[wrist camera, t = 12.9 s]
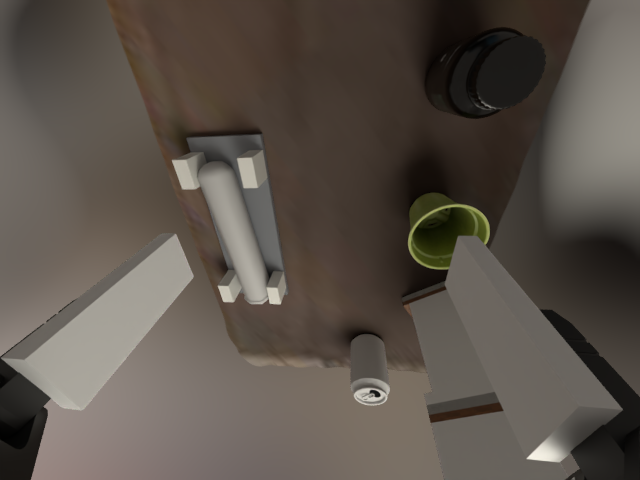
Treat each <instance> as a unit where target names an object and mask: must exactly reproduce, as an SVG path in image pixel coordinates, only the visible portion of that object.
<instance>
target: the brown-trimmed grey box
mask: <svg viewBox="0 0 640 480" xmlns="http://www.w3.org/2000/svg"><path fill="white" fill-rule="evenodd" d="M402 302H403V306H404V307H405V309H406V310H407V311H408V313H409V314H410V316H411V317H412V318H413V320H414V324H415V328H416V332H417V335H418V339H419V343H420V347H421V351H422V354H423V358H424V362H425V366H426V369H427V373H428V377H429V381H430V385H431V388H432V392H431V393H426V394H424V396H425V400H426V405H427V409H428V413H429V418H430V422H431V426H432V430H433V435H434V439H435V443H436V447H437V451H438V456H439V460H440V464H441V469H442V473H443V477H444V480H565V479H566V478H568V475H567V473H566V471H565V469H564V468H563V466H562V464H561V462H550V461H541V460H532V459H526V457H525V455H524V453H523V451H522V449H521V447H520V444H519V442H518V440H517V438H516V436H515V434H514V432H513V430H512V427H511V425H510V423H509V421H508V419H507V417H506V415H505V412H504V410H503V408H502V406H501V404H500V402H499V400H498V398H497V395H496V393H495V391H494V389H493V387H492V385H491V383H490V380H489V378H488V376H487V374H486V372H485V370H484V368H483V365H482V363H481V361H480V359H479V357H478V355H477V353H476V351H475V348H474V346H473V344H472V342H471V340H470V338H469V336H468V333H467V331H466V329H465V327H464V325H463V323H462V321H461V318H460V316H459V314H458V312H457V310H456V308H455V306H454V304H453V301H452V299H451V297H450V295H449V293H448V291H447V289H446V286H445V281H444V282H441V283H438V284H436V285H433V286H431V287H428V288H426V289H423V290H420V291H418V292H415V293H413V294H410V295H407V296H405V297H402Z"/></svg>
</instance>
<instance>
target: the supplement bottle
mask: <svg viewBox="0 0 640 480" xmlns="http://www.w3.org/2000/svg"><path fill="white" fill-rule="evenodd" d="M545 58H546V55H545V54H544V49H543V48H542V44H541V43H539V42H538V40H537V39H533V37H527V36H526V35H523V34H522V33H520V32H519V31H517V30H515V29H512V28H506V27H500V28H494V29H490V30H487V31H484V32H482V33H479V34H477V35H474V36H472V37H470V38H467V39H465V40H462V41H460V42H458V43H455V44H453V45H451V46H450V47H448V48H447V49H445V50H444V51H443V52H442V53H440V54H439V55H438V57H437V58H436V59H435V60H434V62H433V63H432V65H431V67H430V69H429V71H428V74H427V78H426V94H427V97H428V100H429V101H430V103H431V104H432V105H433V106H434V107H435V108H436V109H438V110H440V111H443V112H447V113H450V114H454V115H458V116H461V117H465V118H471V119H479V118H485V117H488V116H491V115H493V114H496V113H497V112H499V111H501V110H502V109H504V108H506V109H507V108H509V107H511V106H515V105H516V104H517V103H520V102H521V101H522V100H523V99H525V98H527V97H528V95H529V94H530V93H531V92H533V90H534V88H535V87H536V86H537V85H538V82H539V80H540V79H541V78H542V73H543V72H544V66H545V64H546V61H545Z"/></svg>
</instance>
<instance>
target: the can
mask: <svg viewBox="0 0 640 480" xmlns="http://www.w3.org/2000/svg"><path fill="white" fill-rule="evenodd" d="M351 390H352V392H353V393H354V398H355V399H356V400H357V401H358V402H360V403H362V404H366V405H379V404H382V403H384V402H385V401H386V400H387V394H388V393H389V390H390V386H389V378H388V370H387V362H386V354H385V346H384V343H383V341H382V340H381V339H380V338H378V337H376V336H374V335H371V334H362V335H359V336H357V337H356V338H354V339H353V340H352V342H351Z"/></svg>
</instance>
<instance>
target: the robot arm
mask: <svg viewBox="0 0 640 480" xmlns="http://www.w3.org/2000/svg"><path fill="white" fill-rule="evenodd" d="M193 277H194V276H193V273H192V271H191V269H190V266H189V264H188V261H187V259H186V257H185V255H184V252H183V250H182V247H181V245H180V242H179V240H178V238H177V235H176V234H160V235H159V236H158V237H156V238H155V239H154V240H153V241H151V242H150V243H149V244H147V245H146V246H145V247H144V248H142V249H141V250H140V251H138V252H137V253H136V254H135V255H133V256H132V257H131V258H129V259H128V260H127V261H125V262H124V263H123V264H122V265H120V266H119V267H118V268H116V269H115V270H114V271H112V272H111V273H110V274H109V275H107V276H106V277H105V278H103V279H102V280H101V281H100V282H98V283H97V284H96V285H94V286H93V287H92V288H90V289H89V290H88V291H87V292H85V293H84V294H83V295H82V296H80V297H79V298H77V299H76V300H74V301H72V302H71V303H70V304H68V305H67V306H66V307H64V308H63V309H62V310H60V311H59V313H58V314H55V315H54V316H53V317H51V318H50V319H49V320H47V322H46V323H45V324H42V325H41V326H40V327H38V328H37V329H36V330H34V331H33V332H32V333H30V334H29V335H28V336H27V337H25V338H24V339H23V340H21V341H20V342H19V343H18V344H16V345H15V346H14V347H12V348H11V349H10V350H8V351H7V352H6V353H4V354H3V355H2V356H1V357H0V480H31V477H32V473H33V469H34V466H35V462H36V458H37V454H38V450H39V447H40V443H41V439H42V435H43V431H44V428H45V424H46V420H47V416H48V411H47V409H46V408H44V407H43V406H44V405H45V404H46V403H47V402H48V401H49V400H50V399H52V400H53V401H54V402H55V403H57V404H58V405H59V406H60V407H62V408H66V409H75V410H84V408H85V407H86V406H87V405H88V404H89V402H90V401H91V400H92V399H93V398H94V396H95V395H96V394H97V393H98V392H99V390H100V389H101V388H102V387H103V386H104V384H105V383H106V382H107V381H108V380H109V378H110V377H111V376H112V375H113V373H114V372H115V371H116V370H117V369H118V368H119V366H120V365H121V364H122V363H123V361H124V360H125V359H126V358H127V357H128V355H129V354H130V353H131V352H132V351H133V349H134V348H135V347H136V346H137V345H138V343H139V342H140V341H141V340H142V339H143V337H144V336H145V335H146V334H147V332H148V331H149V330H150V329H151V328H152V326H153V325H154V324H155V323H156V321H158V319H159V318H160V317H161V316H162V315H163V313H164V312H165V311H166V310H167V309H168V307H169V306H170V305H171V304H172V302H173V301H174V300H175V299H176V298H177V297H178V295H179V294H180V293H181V292H182V291H183V289H184V288H185V287H186V286H187V284H188V283H189V282H190V281H191V280H192V278H193ZM445 286H446V289H447V291H448V293H449V295H450V297H451V299H452V301H453V304H454V306H455V308H456V310H457V312H458V314H459V316H460V318H461V321H462V323H463V325H464V327H465V329H466V331H467V333H468V336H469V338H470V340H471V342H472V344H473V346H474V348H475V351H476V353H477V355H478V357H479V359H480V361H481V363H482V365H483V368H484V370H485V372H486V374H487V376H488V378H489V380H490V383H491V385H492V387H493V389H494V391H495V393H496V395H497V398H498V400H499V402H500V404H501V406H502V408H503V410H504V412H505V415H506V417H507V419H508V421H509V423H510V425H511V427H512V430H513V432H514V434H515V436H516V438H517V440H518V442H519V444H520V447H521V449H522V451H523V453H524V455H525V457H526V459H532V460H541V461H550V462H560V461H562V460H563V459H564V458H565V457H566V456H568V455H569V454H570V453H571V454H572V456H573V457H574V459H575V461H576V462H577V464H578V466H579V467H580V469H579V470H577V471H576V472H575V473H573V474H572V475H571V476H569V477H568V478H566V479H565V480H640V397H639V396H638V395H637V394H636V393H635V391H634V390H633V389H632V388H631V387H630V386H629V385H628V384H627V383H626V382H625V381H624V380H623V379H622V377H621V376H620V375H619V374H618V373H617V372H616V371H615V370H614V369H613V368H612V367H611V366H610V365H609V363H608V362H607V361H606V360H605V359H604V358H603V357H600V356H599V353H598V352H597V350H596V349H595V348H594V347H593V346H592V345H591V344H590V343H587V342H586V339H585V337H584V336H583V335H582V334H581V333H580V332H579V331H578V330H577V329H576V328H575V327H574V326H573V325H572V324H571V323H570V322H569V321H567V320H566V319H564V318H563V317H561V316H560V315H558V314H557V313H556V312H554V311H553V310H540V309H538V308H537V306H536V305H535V304H534V303H533V302H532V301H531V299H530V298H529V297H528V296H527V295H526V294H525V292H524V291H523V290H522V289H521V287H520V286H519V285H518V284H517V283H516V282H515V280H514V279H513V278H512V277H511V276H510V274H509V273H508V272H507V271H506V270H505V268H504V267H503V266H502V265H501V264H500V262H499V261H498V260H497V259H496V258H495V256H494V255H493V254H492V253H491V252H490V250H489V249H488V248H487V247H486V246H485V245H484V243H483V242H482V241H481V240H480V239H479V237H478V236H458V238H457V242H456V245H455V249H454V252H453V256H452V260H451V263H450V267H449V270H448V274H447V278H446V281H445Z"/></svg>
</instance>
